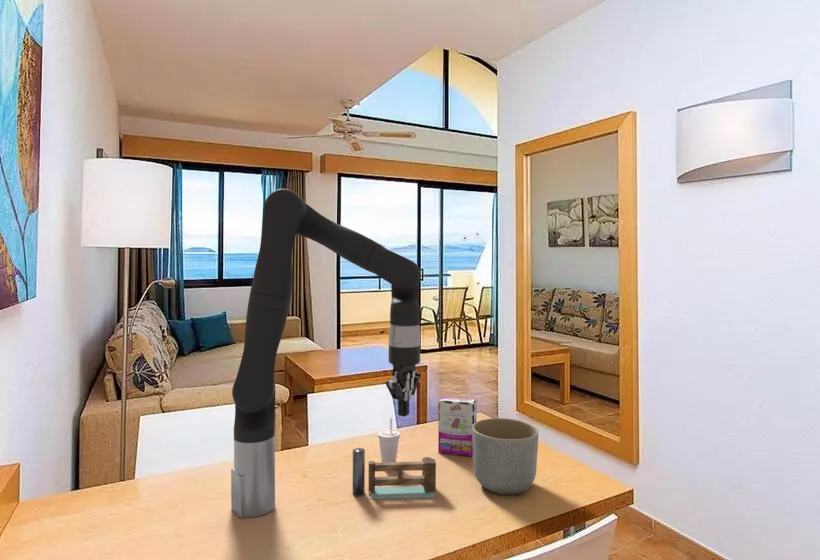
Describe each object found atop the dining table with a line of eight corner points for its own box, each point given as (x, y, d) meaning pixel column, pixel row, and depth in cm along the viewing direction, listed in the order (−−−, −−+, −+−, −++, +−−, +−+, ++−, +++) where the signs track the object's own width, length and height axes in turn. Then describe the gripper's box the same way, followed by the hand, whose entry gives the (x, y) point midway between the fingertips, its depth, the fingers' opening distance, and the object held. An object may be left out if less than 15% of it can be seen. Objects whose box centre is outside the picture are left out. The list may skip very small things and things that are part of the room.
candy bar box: (476, 451, 155) (477, 399, 154) (474, 457, 150) (474, 403, 149) (441, 447, 158) (441, 395, 157) (437, 453, 153) (438, 400, 152)
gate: (368, 493, 125) (368, 464, 125) (368, 488, 128) (368, 460, 128) (435, 491, 127) (435, 463, 126) (434, 486, 130) (434, 458, 129)
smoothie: (399, 471, 140) (399, 422, 139) (376, 471, 140) (376, 421, 139) (400, 462, 146) (400, 414, 145) (378, 462, 146) (378, 414, 145)
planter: (534, 506, 121) (535, 443, 120) (465, 495, 126) (466, 434, 125) (539, 477, 137) (540, 422, 136) (478, 468, 142) (479, 415, 141)
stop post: (426, 488, 130) (426, 461, 129) (420, 484, 131) (420, 458, 131) (433, 485, 131) (433, 459, 131) (427, 482, 133) (427, 456, 133)
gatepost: (356, 497, 124) (356, 453, 124) (350, 492, 127) (350, 449, 126) (366, 493, 126) (367, 450, 126) (360, 489, 129) (360, 447, 128)
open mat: (370, 499, 124) (370, 498, 124) (371, 487, 130) (371, 487, 130) (435, 497, 124) (435, 497, 124) (432, 486, 130) (432, 486, 130)
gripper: (403, 349, 112) (402, 425, 112) (431, 341, 123) (430, 410, 124) (375, 345, 115) (375, 420, 116) (405, 338, 127) (404, 406, 128)
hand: (403, 415), depth 120 cm, fingers closed
